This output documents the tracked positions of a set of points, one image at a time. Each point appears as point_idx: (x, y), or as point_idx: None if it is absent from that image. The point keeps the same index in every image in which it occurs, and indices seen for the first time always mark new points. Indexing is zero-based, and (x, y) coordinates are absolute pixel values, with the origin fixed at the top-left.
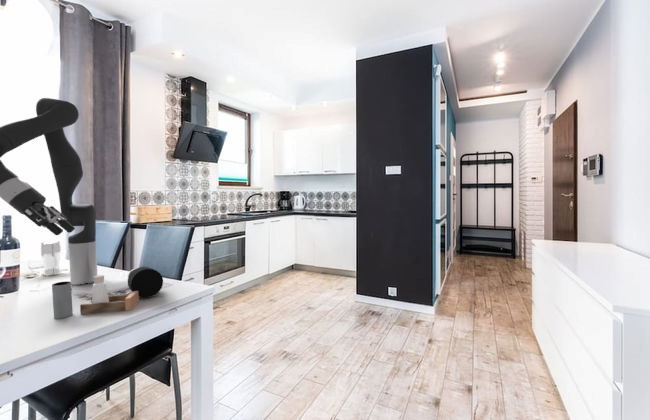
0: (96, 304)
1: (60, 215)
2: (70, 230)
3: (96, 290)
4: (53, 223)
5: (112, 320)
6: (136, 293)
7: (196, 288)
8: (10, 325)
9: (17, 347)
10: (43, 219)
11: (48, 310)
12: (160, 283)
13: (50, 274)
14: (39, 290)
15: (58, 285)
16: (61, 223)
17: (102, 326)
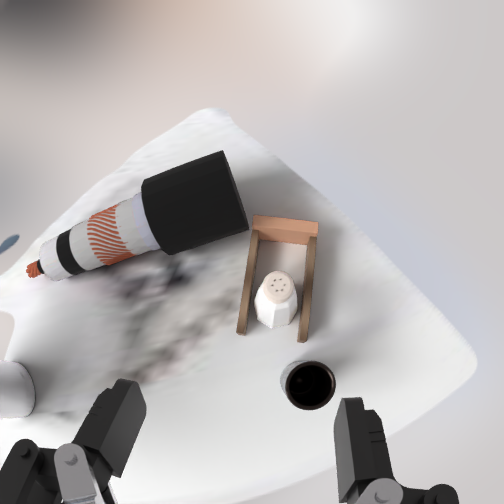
0: (310, 302)
1: (27, 490)
2: (141, 404)
3: (296, 298)
4: (375, 466)
5: (368, 259)
6: (269, 217)
7: (200, 129)
8: (319, 465)
9: (445, 382)
10: (455, 502)
11: (233, 430)
12: (229, 167)
13: None
14: None
15: (335, 384)
16: (106, 470)
17: (396, 269)
